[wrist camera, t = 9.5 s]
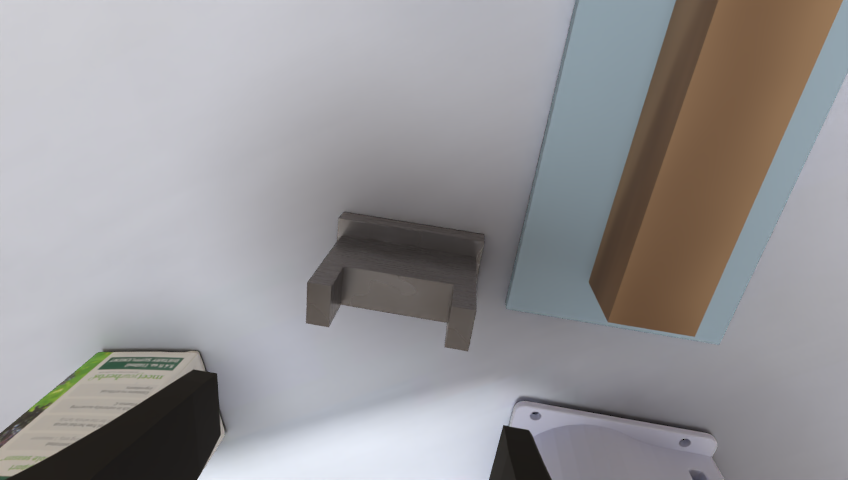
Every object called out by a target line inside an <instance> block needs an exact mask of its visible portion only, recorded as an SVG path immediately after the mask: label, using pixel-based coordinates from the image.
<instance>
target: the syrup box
mask: <svg viewBox="0 0 848 480" xmlns="http://www.w3.org/2000/svg"><path fill="white" fill-rule="evenodd" d="M193 369H194V370H200V371H205V368H204V365H203V362H202V359H201V357H200V353H199V352H198V351H187V352H99V353H97V354H95V355H94V356H93V357H92V358H91V359H89V360H88V361H87V362H86V363H85V364H84V365H82V366H81V367H80V368H79V369H78V370H76V371H75V372H74V373H73V374H72V375H70V376H69V377H68V378H67V379H65V380H64V381H63V382H62V383H60V384H59V385H58V386H57V387H56V388H54V389H53V390H52V391H51V392H50V393H48V394H47V395H46V396H45V397H43V398H42V399H41V400H40V401H39V402H37V403H36V404H35V405H34V406H33V407H32V408H30V409H29V410H28V411H27V412H26V413H24V414H23V415H22V416H21V417H19V418H18V419H17V420H16V421H15V422H13V423H12V424H11V425H10V426H9V427H7V428H6V429H5V430H4V431H3V432H1V433H0V480H5V479H7V478H9V477H11V476H13V475H15V474H17V473H19V472H21V471H23V470H25V469H27V468H29V467H31V466H33V465H35V464H37V463H39V462H41V461H43V460H44V459H46V458H48V457H50V456H52V455H54V454H55V453H57V452H59V451H61V450H62V449H64V448H66V447H68V446H69V445H71V444H73V443H75V442H76V441H78V440H80V439H81V438H83V437H85V436H87V435H88V434H90V433H92V432H94V431H95V430H97V429H99V428H101V427H102V426H104V425H106V424H107V423H109V422H111V421H112V420H114V419H115V418H117V417H119V416H120V415H122V414H123V413H125V412H127V411H128V410H130V409H132V408H133V407H135V406H136V405H138V404H140V403H141V402H143V401H144V400H146V399H147V398H149V397H151V396H152V395H154V394H155V393H157V392H158V391H160V390H162V389H163V388H165V387H166V386H168V385H169V384H171V383H172V382H174V381H176V380H177V379H179V378H180V377H182V376H184V375H185V374H187V373H188V372H190V371H192V370H193ZM219 413H220V412H219ZM220 428H221V435H220V437H219V439H218V441H217V443H216V445H215V447H214V449H213V451H212V453H211V455H210V457H209V459H208V461H207V463H208V462H209V460H210V458H211V457H212V455H213V454H214V452H215V451H216V449H217V447H218V446H219V444H220V443H221V441H222V439H223V437H224V435H225V431H224V427H223V423H222V419H221V416H220ZM207 463H206V465H207ZM206 465H205V466H206ZM204 468H205V467H204ZM202 471H203V470H202Z"/></svg>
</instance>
